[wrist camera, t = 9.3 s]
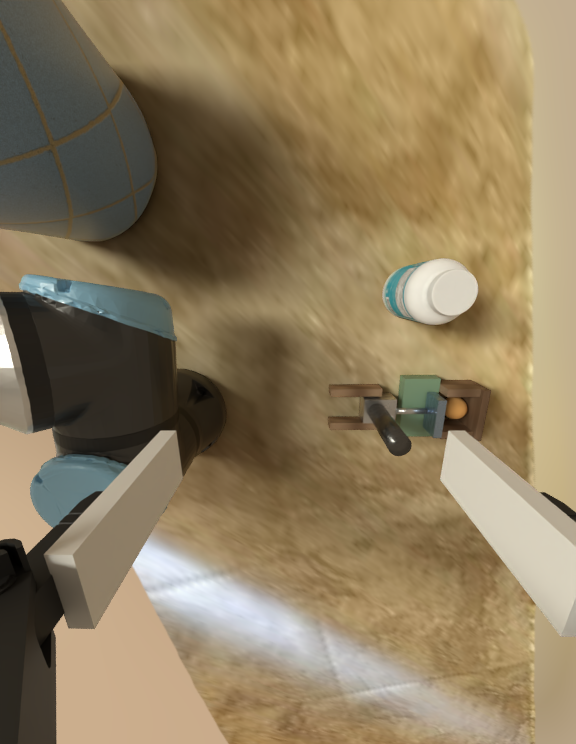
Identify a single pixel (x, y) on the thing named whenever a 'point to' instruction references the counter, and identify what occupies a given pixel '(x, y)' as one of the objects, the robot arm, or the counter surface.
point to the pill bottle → (430, 291)
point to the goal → (476, 406)
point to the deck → (415, 401)
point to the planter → (66, 130)
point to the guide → (352, 391)
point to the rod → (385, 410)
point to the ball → (455, 408)
